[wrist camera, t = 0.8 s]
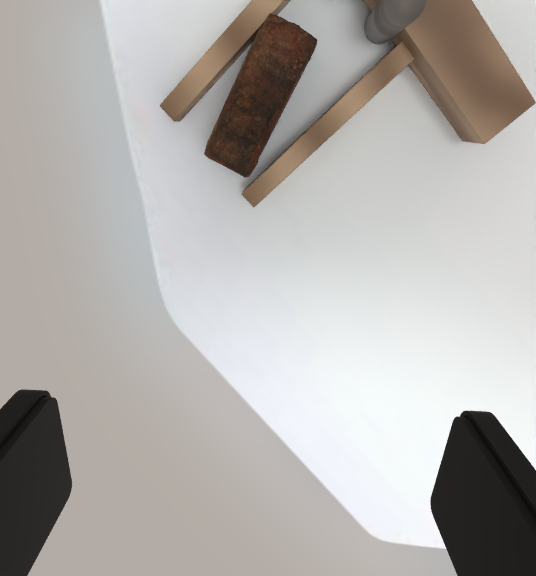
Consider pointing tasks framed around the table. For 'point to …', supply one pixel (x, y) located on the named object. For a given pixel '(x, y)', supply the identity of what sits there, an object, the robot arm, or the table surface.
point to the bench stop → (385, 74)
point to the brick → (260, 94)
